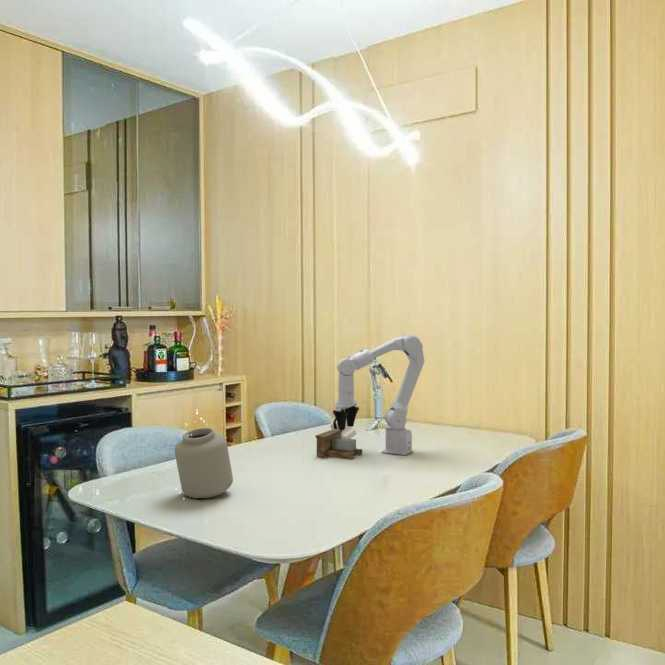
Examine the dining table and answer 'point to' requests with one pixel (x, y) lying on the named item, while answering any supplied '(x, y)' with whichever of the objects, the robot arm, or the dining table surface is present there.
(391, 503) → the dining table surface
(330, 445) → the brown panel with bars
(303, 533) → the dining table surface
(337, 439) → the grey rectangular block
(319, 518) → the dining table surface
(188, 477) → the jar
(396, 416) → the robot arm
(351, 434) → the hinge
